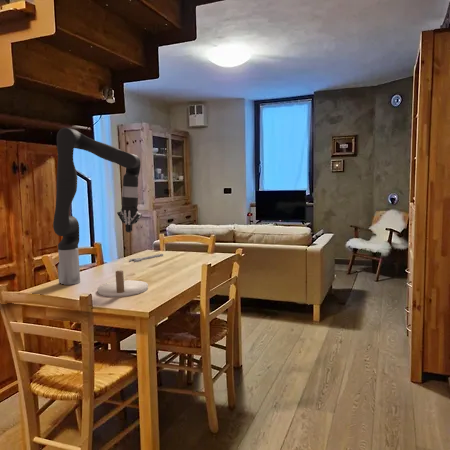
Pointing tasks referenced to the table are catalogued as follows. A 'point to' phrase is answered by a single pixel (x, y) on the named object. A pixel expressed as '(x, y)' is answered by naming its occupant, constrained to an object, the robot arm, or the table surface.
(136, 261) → the adjustable wrench
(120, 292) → the dial
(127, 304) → the table surface
